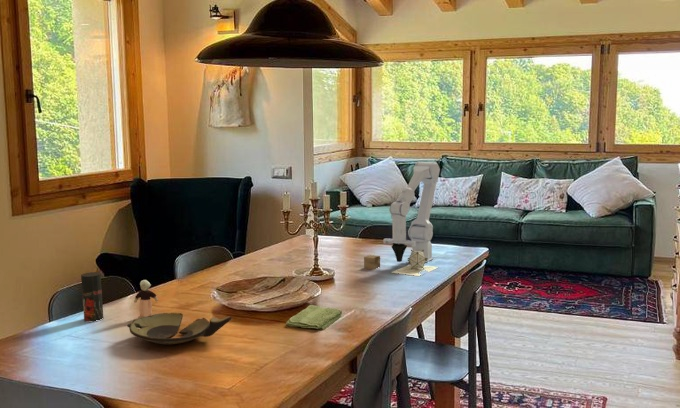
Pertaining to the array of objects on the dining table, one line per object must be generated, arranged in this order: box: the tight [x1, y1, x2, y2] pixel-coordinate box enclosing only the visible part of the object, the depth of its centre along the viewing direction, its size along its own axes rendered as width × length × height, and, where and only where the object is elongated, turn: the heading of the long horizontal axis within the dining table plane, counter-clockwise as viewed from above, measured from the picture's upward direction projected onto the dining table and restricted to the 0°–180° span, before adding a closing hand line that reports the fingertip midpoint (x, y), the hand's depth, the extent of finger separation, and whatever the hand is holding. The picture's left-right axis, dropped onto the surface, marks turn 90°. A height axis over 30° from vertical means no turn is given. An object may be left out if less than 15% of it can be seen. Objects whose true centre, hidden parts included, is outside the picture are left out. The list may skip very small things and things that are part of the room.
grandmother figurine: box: [133, 279, 159, 319], centre depth 217 cm, size 8×4×13 cm, turn 105°
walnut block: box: [363, 254, 381, 270], centre depth 284 cm, size 5×5×5 cm
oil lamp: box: [126, 312, 233, 346], centre depth 194 cm, size 22×30×8 cm
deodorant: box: [80, 271, 104, 322], centre depth 216 cm, size 6×6×15 cm
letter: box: [391, 263, 439, 277], centre depth 278 cm, size 18×13×1 cm
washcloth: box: [285, 304, 343, 331], centre depth 212 cm, size 13×18×3 cm
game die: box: [407, 249, 428, 269], centre depth 279 cm, size 9×8×10 cm
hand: (399, 261), depth 284 cm, fingers closed
